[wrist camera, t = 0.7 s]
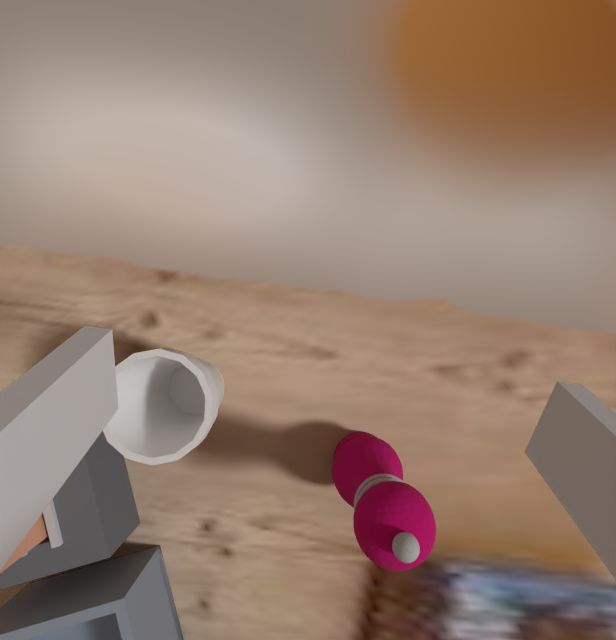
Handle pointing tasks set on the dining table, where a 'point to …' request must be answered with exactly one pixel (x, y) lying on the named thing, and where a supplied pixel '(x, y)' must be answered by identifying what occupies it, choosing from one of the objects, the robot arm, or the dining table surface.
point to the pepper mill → (383, 503)
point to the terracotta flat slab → (29, 541)
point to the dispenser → (82, 518)
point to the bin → (97, 603)
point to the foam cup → (163, 405)
